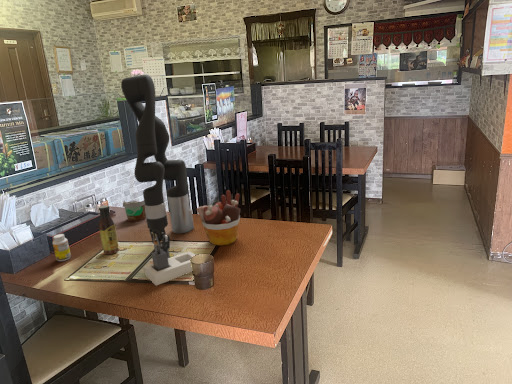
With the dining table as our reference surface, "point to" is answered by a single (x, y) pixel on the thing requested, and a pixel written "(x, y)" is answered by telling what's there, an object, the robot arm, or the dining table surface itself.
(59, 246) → the supplement bottle
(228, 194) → the bucket of meat
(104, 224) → the sauce bottle
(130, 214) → the food container
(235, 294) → the dining table surface
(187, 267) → the white rectangular frame
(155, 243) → the plug
